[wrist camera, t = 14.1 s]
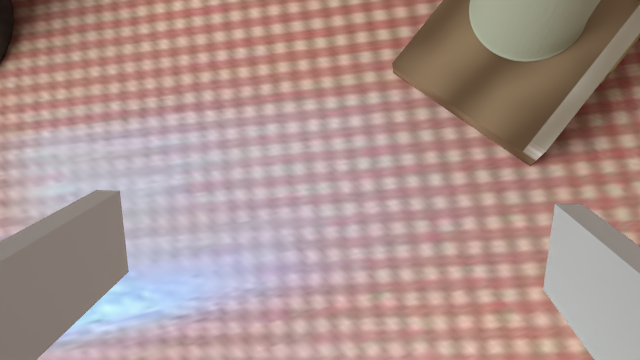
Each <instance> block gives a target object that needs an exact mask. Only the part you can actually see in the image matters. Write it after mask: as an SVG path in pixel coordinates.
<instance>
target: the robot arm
mask: <svg viewBox="0 0 640 360" xmlns="http://www.w3.org/2000/svg"><path fill="white" fill-rule="evenodd" d="M12 27H13V11H12V5H11V1H10V0H0V60H1V59H2V57H3V55H4V53H5V51H6V49H7V46H8V44H9V40H10V37H11V33H12ZM127 273H128V263H127V253H126V244H125V235H124V226H123V217H122V207H121V198H120V191H104V190H96V191H94V192H92V193H90V194H88V195H87V196H85V197H83V198H81V199H79V200H77V201H75V202H73V203H72V204H70V205H68V206H66V207H64V208H62V209H60V210H59V211H57V212H55V213H53V214H51V215H49V216H47V217H46V218H44V219H42V220H40V221H38V222H36V223H34V224H32V225H31V226H29V227H27V228H25V229H23V230H21V231H19V232H18V233H16V234H14V235H12V236H10V237H8V238H6V239H5V240H3V241H1V242H0V360H37V359H38V358H39V357H40V356H41V355H42V354H43V353H44V352H45V351H46V350H47V349H48V348H49V347H50V346H51V345H52V344H53V343H54V342H55V341H56V340H58V339H59V338H60V337H61V336H62V335H63V334H64V333H65V332H66V331H67V330H68V329H69V328H70V327H71V326H72V325H73V324H74V323H75V322H76V321H77V320H78V319H80V318H81V317H82V316H83V315H84V314H85V313H86V312H87V311H88V310H89V309H90V308H91V307H92V306H93V305H94V304H95V303H96V302H97V301H98V300H99V299H100V298H102V297H103V296H104V295H105V294H106V293H107V292H108V291H109V290H110V289H111V288H112V287H113V286H114V285H115V284H116V283H117V282H118V281H119V280H120V279H121V278H122V277H124V276H125V275H126V274H127ZM543 290H544V291H545V293H546V294H547V296H548V297H549V298H550V300H551V301H552V302H553V304H554V305H555V306H556V308H557V309H558V311H559V312H560V313H561V315H562V316H563V317H564V319H565V320H566V321H567V323H568V324H569V326H570V327H571V328H572V330H573V331H574V332H575V334H576V335H577V336H578V338H579V339H580V341H581V342H582V343H583V345H584V346H585V347H586V349H587V350H588V351H589V353H590V354H591V356H592V357H593V358H594V360H640V246H639V245H637V244H636V243H635V242H633V241H632V240H631V239H629V238H628V237H626V236H625V235H624V234H622V233H621V232H620V231H618V230H617V229H615V228H614V227H613V226H611V225H610V224H609V223H607V222H606V221H605V220H603V219H602V218H600V217H599V216H598V215H596V214H595V213H594V212H592V211H591V210H589V209H588V208H587V207H585V206H584V205H583V204H555V207H554V215H553V222H552V230H551V237H550V244H549V252H548V259H547V266H546V274H545V281H544V288H543Z"/></svg>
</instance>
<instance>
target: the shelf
mask: <svg viewBox="0 0 640 360" xmlns="http://www.w3.org/2000/svg"><path fill="white" fill-rule="evenodd" d="M469 5H470V0H443V1H442V3H441V4H440V5H439V6H438V8H437V9H436V10H435V11H434V13H433V14H432V15H431V16H430V18H429V19H428V20H427V21H426V22H425V24H424V25H423V26H422V27H421V29H420V30H419V31H418V32H417V34H416V35H415V36H414V37H413V39H412V40H411V41H410V42H409V44H408V45H407V46H406V47H405V49H404V50H403V51H402V52H401V53H400V55H399V56H398V57H397V58H396V60H395V61H394V62H393V63H392V65H393V73H394V74H396V75H397V76H399V77H400V78H402V79H403V80H405V81H406V82H408V83H409V84H411V85H412V86H413V87H415V88H416V89H418V90H419V91H421V92H422V93H424V94H425V95H427V96H428V97H430V98H431V99H433V100H434V101H435V102H437V103H438V104H440V105H441V106H443V107H444V108H446V109H447V110H449V111H450V112H452V113H453V114H454V115H456V116H457V117H459V118H460V119H462V120H463V121H465V122H466V123H468V124H469V125H471V126H472V127H474V128H475V129H476V130H478V131H479V132H481V133H482V134H484V135H485V136H487V137H488V138H490V139H491V140H493V141H494V142H495V143H497V144H498V145H500V146H501V147H503V148H504V149H506V150H507V151H509V152H510V153H512V154H513V155H515V156H516V157H517V158H519V159H520V160H522V161H523V162H525V163H526V164H528V165H529V166H531V165H532V164H533V163H534V162H535V161H536V160H537V159H538V158H539V157H541V156H542V155H543V154H544V153H545V152H546V151H547V150H548V148H549V147H550V146H551V145H552V143H553V142H554V141H555V139H556V138H557V137H558V136H559V134H560V133H561V132H562V131H563V129H564V128H565V127H566V126H567V124H568V123H569V122H570V121H571V119H572V118H573V117H574V116H575V114H576V113H577V112H578V110H579V109H580V108H581V107H582V105H583V104H584V103H585V102H586V100H587V99H588V98H589V97H590V95H591V94H592V93H593V92H594V90H595V89H596V88H597V86H598V85H600V84H601V83H602V82H603V81H604V80H605V79H606V78H607V77H608V76H609V75H610V74H611V73H612V72H613V71H614V69H615V68H616V67H617V65H618V64H619V63H620V62H621V60H622V59H623V58H624V57H625V55H626V54H627V53H628V52H629V50H630V49H631V48H632V47H633V45H634V44H635V43H636V41H637V40H638V39H639V38H640V0H601V1H600V2H599V3H598V5H597V6H596V8H595V9H594V11H593V12H592V14H591V16H590V17H589V19H588V20H587V23H586V25H585V28H584V30H583V31H582V33H581V35H580V36H579V37H578V39H577V40H576V41H575V42H574V43H573V44H572V45H571V46H570V47H568V48H567V49H566V50H564V51H563V52H561V53H559V54H557V55H555V56H553V57H550V58H547V59H544V60H540V61H533V62H522V61H514V60H509V59H506V58H503V57H501V56H499V55H497V54H495V53H493V52H492V51H490V50H489V49H487V48H486V47H485V46H484V45H483V44H482V43H481V42H480V41H479V39H478V38H477V36H476V35H475V33H474V31H473V29H472V26H471V23H470V18H469Z"/></svg>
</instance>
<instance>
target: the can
mask: <svg viewBox="0 0 640 360" xmlns="http://www.w3.org/2000/svg"><path fill="white" fill-rule="evenodd" d="M600 1H601V0H470V5H469V18H470V23H471V26H472V29H473V31H474V33H475V35H476V36H477V38H478V39H479V41H480V42H481V43H482V44H483V45H484V46H485V47H486V48H487V49H489V50H490V51H492V52H493V53H495V54H497V55H499V56H501V57H503V58H506V59H509V60H514V61H522V62H533V61H540V60H544V59H547V58H550V57H553V56H555V55H557V54H559V53H561V52H563V51H564V50H566V49H567V48H568V47H570V46H571V45H572V44H573V43H574V42H575V41H576V40H577V39H578V37H579V36H580V35H581V33H582V31H583V30H584V28H585V25H586V23H587V20H588V19H589V17H590V16H591V14H592V12H593V11H594V9H595V8H596V6H597V5H598V3H599V2H600Z"/></svg>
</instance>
